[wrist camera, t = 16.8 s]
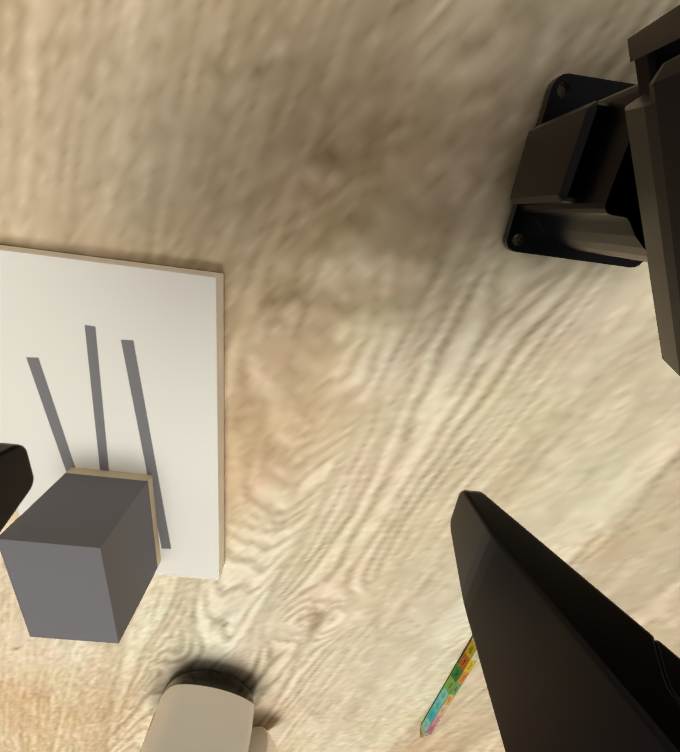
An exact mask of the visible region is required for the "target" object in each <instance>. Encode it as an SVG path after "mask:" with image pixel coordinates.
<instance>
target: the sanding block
mask: <svg viewBox="0 0 680 752" xmlns="http://www.w3.org/2000/svg"><path fill="white" fill-rule="evenodd" d="M0 552H1V554H2V557H3V560H4V563H5V566H6V569H7V572H8V574H9V577H10V580H11V583H12V586H13V589H14V592H15V594H16V597H17V600H18V603H19V606H20V609H21V612H22V614H23V617H24V620H25V623H26V626H27V629H28V632H29V635H30V637H42V638H55V639H68V640H81V641H94V642H107V643H119V642H120V640H121V638H122V636H123V634H124V632H125V630H126V628H127V626H128V624H129V622H130V620H131V618H132V617H133V615H134V613H135V611H136V609H137V607H138V605H139V603H140V601H141V599H142V597H143V595H144V593H145V591H146V589H147V587H148V585H149V583H150V581H151V580H152V578H153V576H154V574H155V572H156V570H157V568H158V566H159V564H160V562H161V556H160V546H159V536H158V526H157V517H156V507H155V497H154V487H153V477H152V475H145V474H135V473H125V472H115V471H105V470H95V469H85V468H75V467H71V468H70V469H69V470H68V471H67V472H66V473H65V474H64V475H63V476H62V477H61V478H60V479H59V480H58V481H56V482H55V483H54V484H53V485H52V486H51V487H50V488H49V489H48V490H47V491H46V492H45V493H44V494H43V495H42V496H41V497H40V498H39V499H37V500H36V501H35V502H34V503H33V504H32V505H31V506H30V507H29V508H28V509H27V510H26V511H25V512H24V513H23V514H22V515H21V516H20V517H19V518H17V519H16V520H15V521H14V522H13V523H12V524H11V525H10V526H9V527H8V528H7V529H6V530H5V531H4V532H3V533H2V534H1V535H0Z"/></svg>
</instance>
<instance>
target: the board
mask: <svg viewBox="0 0 680 752" xmlns="http://www.w3.org/2000/svg"><path fill="white" fill-rule="evenodd" d="M0 443H11V444H19V445H22V446H24V447H25V448H26V450H27V453H28V457H29V461H30V464H31V468H32V472H33V476H34V481H33V485H32V487H31V489H30V491H29V492H28V494H27V495H26V496H25V498H24V499H23V501H22V502H21V503H20V505H19V506H18V508H17V509H18V512H19V516H21V515H22V514H23V513H24V512H25V511H26V510H27V509H28V508H29V507H30V506H31V505H32V504H33V503H34V502H35V501H36V500H37V499H39V498H40V497H41V496H42V495H43V494H44V493H45V492H46V491H47V490H48V489H49V488H50V487H51V486H52V485H53V484H54V483H55V482H56V481H58V480H59V479H60V478H61V477H62V476H63V475H64V474H65V473H66V472H67V471H68V470H69V469H70V468H71V467H75V468H85V469H95V470H105V471H115V472H125V473H135V474H145V475H152V477H153V487H154V497H155V507H156V517H157V526H158V536H159V546H160V556H161V562H160V564H159V566H158V568H157V570H156V572H155V575H167V576H178V577H190V578H201V579H213V580H219V579H220V576H221V573H222V570H223V567H224V273H216V272H208V271H201V270H193V269H185V268H177V267H170V266H162V265H154V264H146V263H138V262H131V261H123V260H115V259H107V258H99V257H92V256H84V255H76V254H68V253H60V252H53V251H45V250H37V249H29V248H22V247H14V246H6V245H0Z"/></svg>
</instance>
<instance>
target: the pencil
mask: <svg viewBox="0 0 680 752" xmlns="http://www.w3.org/2000/svg"><path fill="white" fill-rule="evenodd" d="M478 658H479V656H478V652H477V649H476V645H475V642H474V638H473V637H472V639H471V641H470V642H469V644H468V646H467V648H466V649H465V651H464V653H463V654H462V656H461V658H460V659H459V661H458V663H457V665H456V666H455V668H454V670H453V671H452V673H451V675H450V677H449V678H448V680H447V682H446V683H445V685H444V687H443V688H442V690H441V692H440V694H439V695H438V697H437V699H436V700H435V702H434V704H433V706H432V707H431V709H430V711H429V712H428V714H427V716H426V717H425V719H424V721H423V723H422V725H421V734H420V738H422V737H425V736H427V735H430V734H431V733H432V732H433V730H434V729H435V727H436V725H437V724H438V722H439V721H440V719H441V717H442V716H443V714H444V713H445V711H446V709H447V708H448V706H449V705H450V703H451V701H452V700H453V698H454V697H455V695H456V693H457V692H458V690H459V689H460V687H461V685H462V684H463V682H464V681H465V679H466V677H467V676H468V674H469V672H470V671H471V669H472V668H473V666H474V664H475V663H476V661H477V660H478Z"/></svg>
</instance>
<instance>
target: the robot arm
mask: <svg viewBox="0 0 680 752" xmlns="http://www.w3.org/2000/svg"><path fill="white" fill-rule="evenodd" d="M627 41H628V48H629V55H630V62H632V61H634V60H635V65H636V73H637V80H638V84H636V85H635V84H629V83H623V82H617V81H611V80H605V79H599V78H593V77H586V76H580V75H574V74H563V75H561V76H559V77H558V78H556V79H554V80H553V81H552V82H551V83H550V84H549V86H548V88H547V90H546V93H545V97H544V100H543V104H542V107H541V111H540V114H539V118H538V121H537V125H536V127H535V128H534V129H532V130H531V131H530V132H529V133H528V136H527V140H526V143H525V147H524V151H523V154H522V158H521V161H520V165H519V168H518V172H517V175H516V179H515V182H514V186H513V189H512V193H511V196H510V198H511V200H512V203H513V207H512V211H511V214H510V218H509V221H508V225H507V228H506V232H505V235H504V240H503V243H504V246H505V247H506V249H508V250H511V251H515V252H522V253H529V254H537V255H544V256H551V257H559V258H566V259H573V260H580V261H588V262H595V263H602V264H610V265H617V266H624V267H636V266H638V265H640V264H641V263H642V262H643V261H645V262H648V267H649V273H650V280H651V287H652V293H653V300H654V307H655V313H656V320H657V326H658V333H659V340H660V346H661V353H662V359H663V360H664V361H665V362H666V363H667V364H668V365H669V366H670V367H671V368H672V369H673V370H674V371H675V372H676V373H677V374H678V375H679V376H680V5H679V6H677V7H676V8H674V9H673V10H671V11H670V12H668V13H667V14H665V15H664V16H662V17H661V18H659V19H658V20H656V21H654V22H653V23H651V24H650V25H648V26H647V27H645V28H644V29H642V30H641V31H639V32H638V33H636V34H635V35H633V36H632V37H630V38H629V39H627ZM559 85H562V86H564V88H565V94H564V96H563V98H561V97H559V96H558V94H557V89H558V87H559ZM516 234H519V236H520V241H519V242H518V243H517V244H516V245H514V244H513V242H512V240H513V237H514V236H515V235H516ZM630 259H631V260H630ZM33 481H34V476H33V472H32V468H31V464H30V461H29V457H28V453H27V450H26V448H25V447H24V446H22V445H19V444H11V443H0V532H1V530H2V529H3V527H4V526H5V525H6V523H7V522H8V520H9V519H10V518H11V516H12V515H13V513H14V512H15V511H16V509H17V508H18V506H19V505H20V503H21V502H22V501H23V499H24V498H25V496H26V495H27V494H28V492H29V491H30V489H31V487H32V485H33ZM451 534H452V540H453V545H454V551H455V557H456V563H457V568H458V574H459V580H460V585H461V591H462V596H463V601H464V605H465V609H466V613H467V617H468V620H469V624H470V627H471V631H472V635H473V638H474V642H475V645H476V649H477V652H478V656H479V659H480V663H481V666H482V670H483V674H484V677H485V681H486V684H487V688H488V691H489V695H490V698H491V702H492V705H493V709H494V713H495V716H496V720H497V723H498V727H499V730H500V734H501V737H502V741H503V744H504V748H505V752H680V658H679V657H678V656H676V655H675V654H674V653H673V652H672V651H670V650H669V649H668V648H667V647H666V646H664V645H663V644H662V643H661V642H660V641H658V640H654V637H653V636H652V635H651V634H650V633H649V632H648V631H646V630H645V629H644V628H643V627H642V626H640V625H639V624H638V623H637V622H636V621H635V620H633V619H632V618H631V617H630V616H629V615H627V614H626V613H625V612H624V611H623V610H621V609H620V608H619V607H618V606H617V605H615V604H614V603H613V602H612V601H611V600H610V599H608V598H607V597H606V596H605V595H604V594H602V593H601V592H600V591H599V590H598V589H596V588H595V587H594V586H593V585H592V584H591V583H589V582H588V581H587V580H586V579H585V578H583V577H582V576H581V575H580V574H579V573H577V572H576V571H575V570H574V569H573V568H571V567H570V566H569V565H568V564H567V563H566V562H564V561H563V560H562V559H561V558H560V557H558V556H557V555H556V554H555V553H554V552H552V551H551V550H550V549H549V548H548V547H546V546H545V545H544V544H543V543H542V542H541V541H539V540H538V539H537V538H536V537H535V536H533V535H532V534H531V533H530V532H529V531H527V530H526V529H525V528H524V527H523V526H521V525H520V524H519V523H518V522H517V521H516V520H514V519H513V518H512V517H511V516H510V515H508V514H507V513H506V512H505V511H504V510H502V509H501V508H500V507H499V506H498V505H496V504H495V503H494V502H493V501H492V500H491V499H489V498H488V497H487V496H486V495H485V494H483V493H482V492H478V491H469V490H464V491H462V492H461V493H460V494H459V497H458V500H457V503H456V506H455V509H454V512H453V515H452V518H451Z"/></svg>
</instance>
